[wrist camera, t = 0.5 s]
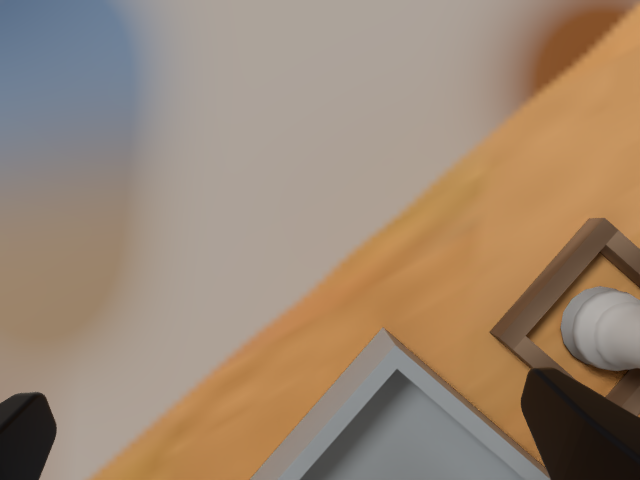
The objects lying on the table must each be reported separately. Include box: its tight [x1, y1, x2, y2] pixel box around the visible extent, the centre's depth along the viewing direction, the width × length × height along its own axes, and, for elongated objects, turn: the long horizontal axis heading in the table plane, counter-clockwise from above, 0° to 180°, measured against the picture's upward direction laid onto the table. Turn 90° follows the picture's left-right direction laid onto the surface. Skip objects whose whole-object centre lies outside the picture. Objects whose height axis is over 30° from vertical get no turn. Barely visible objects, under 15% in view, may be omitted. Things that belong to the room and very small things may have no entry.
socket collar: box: [490, 218, 640, 416], centre depth 22 cm, size 8×8×1 cm
